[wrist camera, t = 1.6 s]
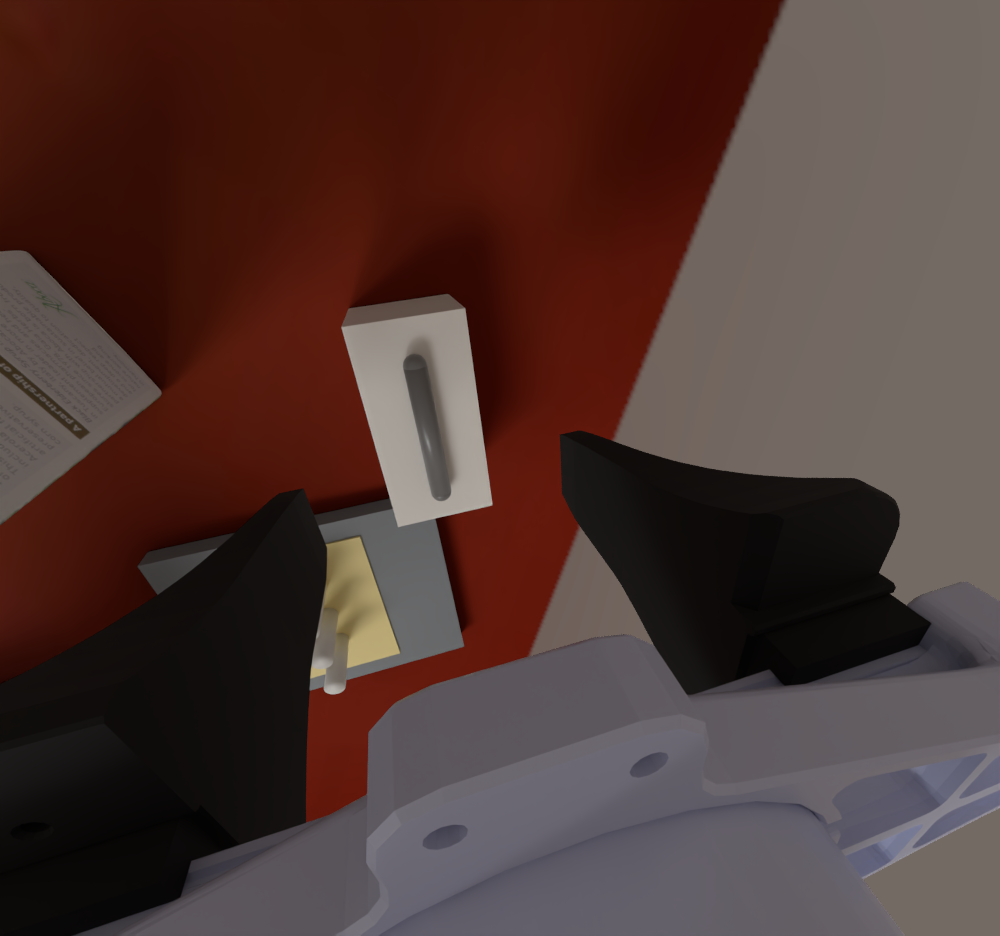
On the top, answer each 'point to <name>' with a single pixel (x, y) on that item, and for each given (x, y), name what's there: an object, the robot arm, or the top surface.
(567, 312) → the top surface
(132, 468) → the top surface
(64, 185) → the top surface
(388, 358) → the block
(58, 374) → the syrup box
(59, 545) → the top surface
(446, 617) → the board
